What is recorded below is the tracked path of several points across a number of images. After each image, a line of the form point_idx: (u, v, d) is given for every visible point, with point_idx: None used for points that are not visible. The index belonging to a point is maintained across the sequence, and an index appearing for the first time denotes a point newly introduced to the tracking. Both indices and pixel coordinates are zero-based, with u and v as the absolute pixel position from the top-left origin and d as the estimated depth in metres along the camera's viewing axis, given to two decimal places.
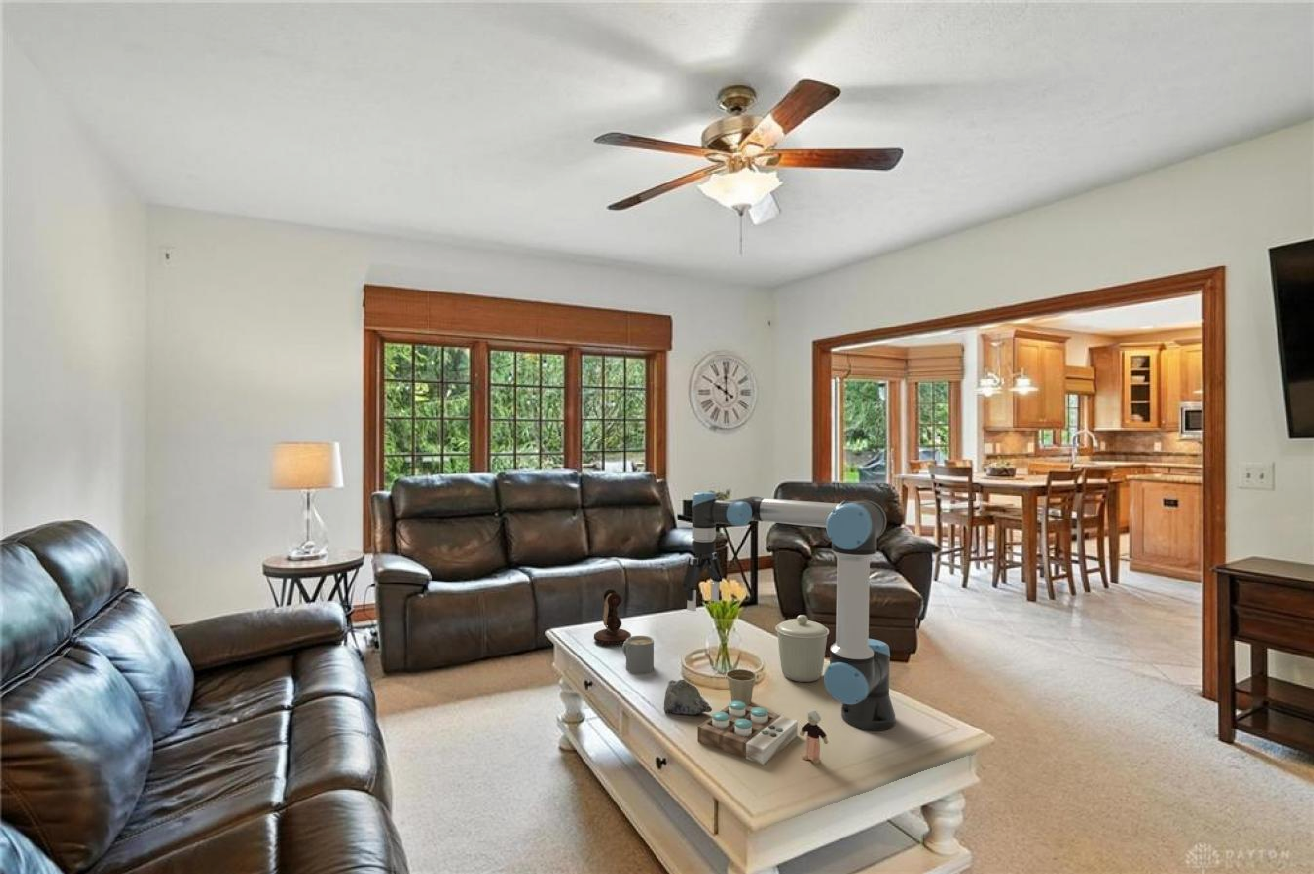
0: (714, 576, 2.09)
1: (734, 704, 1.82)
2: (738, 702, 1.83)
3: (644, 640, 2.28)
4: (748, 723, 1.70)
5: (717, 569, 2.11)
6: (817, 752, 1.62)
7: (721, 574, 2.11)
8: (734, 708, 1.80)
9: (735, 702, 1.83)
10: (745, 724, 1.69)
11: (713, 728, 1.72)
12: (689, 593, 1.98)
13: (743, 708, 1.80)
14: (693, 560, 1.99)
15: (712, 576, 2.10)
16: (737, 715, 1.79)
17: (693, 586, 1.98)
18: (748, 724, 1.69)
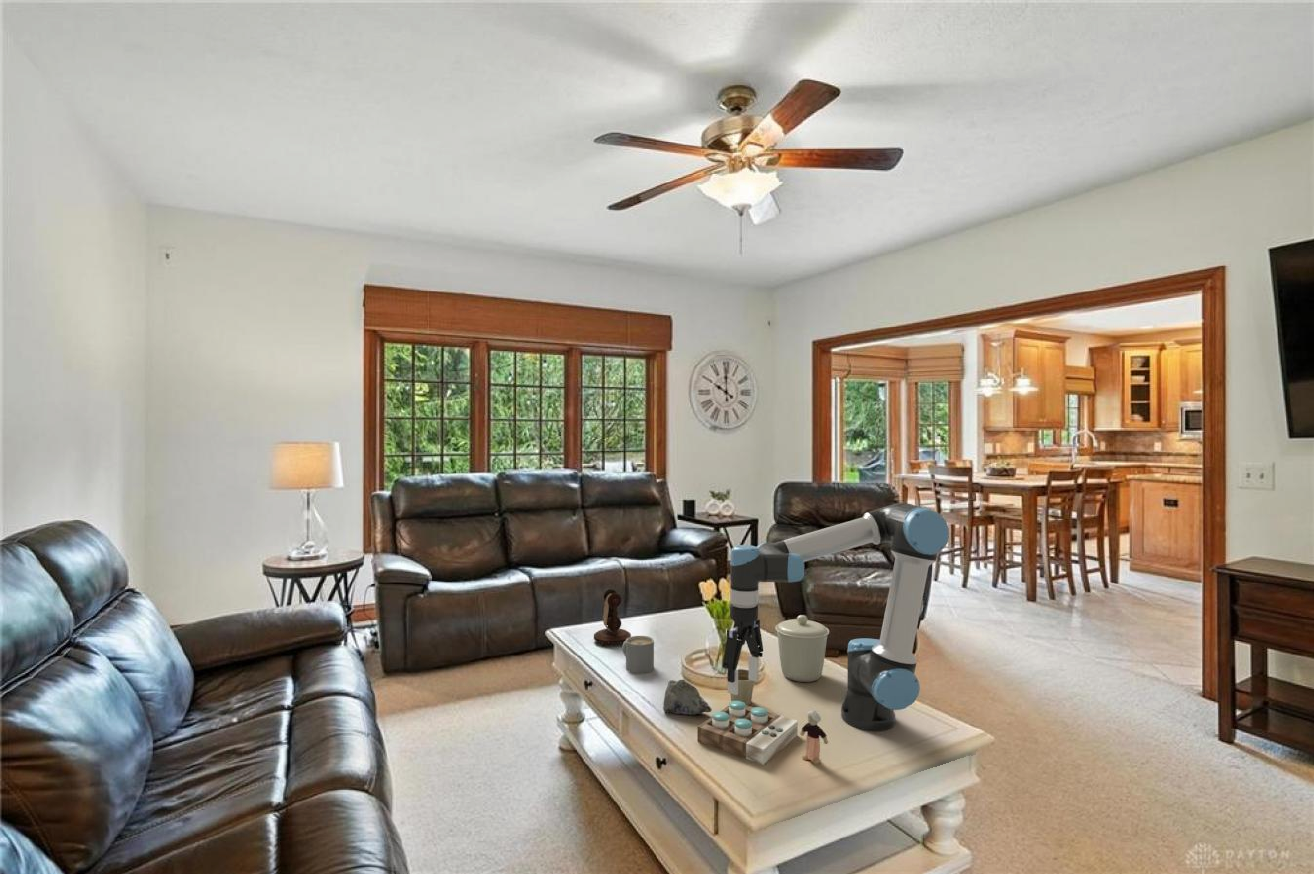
0: (753, 649, 1.74)
1: (734, 704, 1.82)
2: (738, 702, 1.83)
3: (644, 640, 2.28)
4: (748, 723, 1.70)
5: (757, 640, 1.75)
6: (817, 752, 1.62)
7: (761, 646, 1.76)
8: (734, 708, 1.80)
9: (735, 702, 1.83)
10: (745, 724, 1.69)
11: (713, 728, 1.72)
12: (730, 673, 1.64)
13: (743, 708, 1.80)
14: (732, 633, 1.64)
15: (751, 649, 1.74)
16: (737, 715, 1.79)
17: (735, 665, 1.64)
18: (748, 724, 1.69)
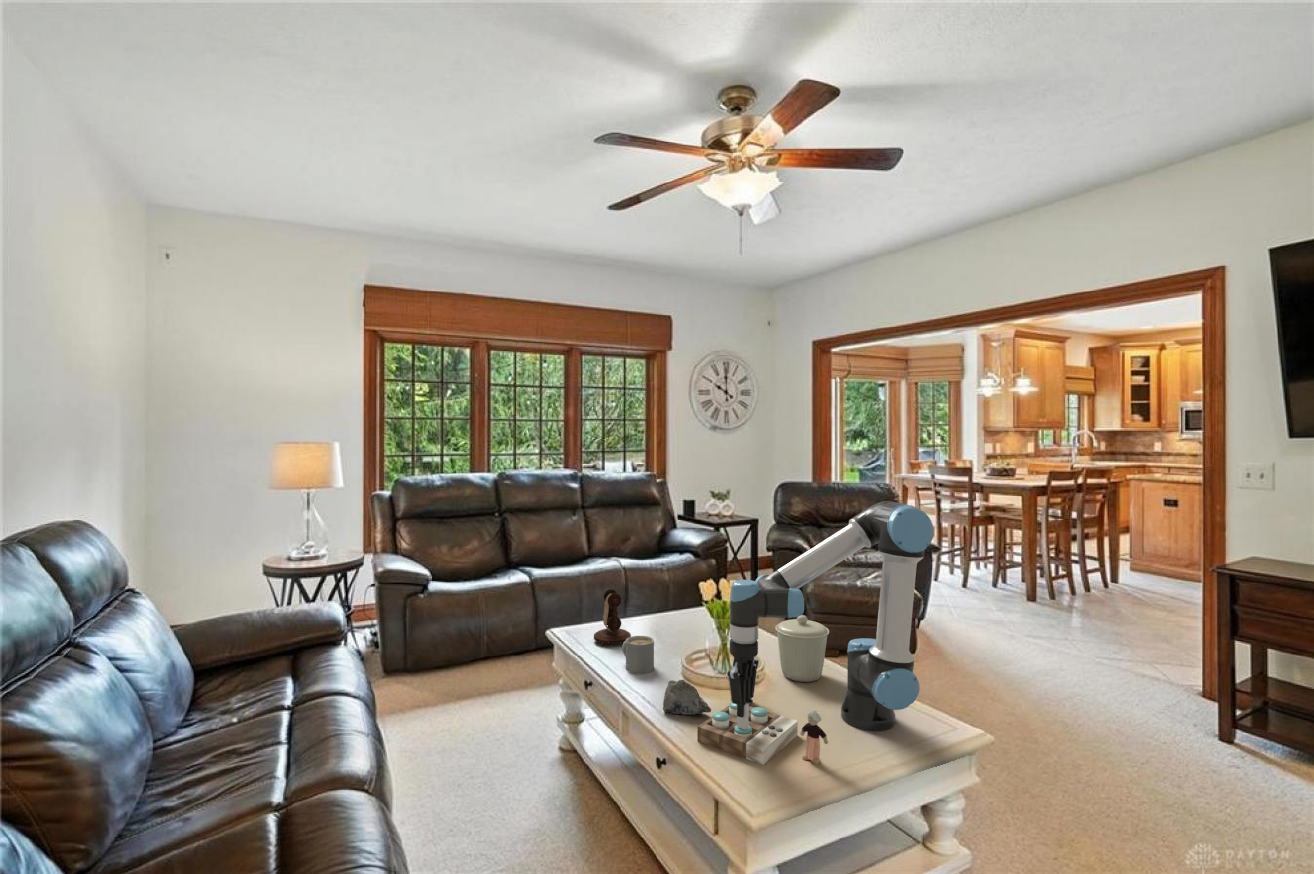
0: (745, 691, 1.70)
1: (734, 704, 1.82)
2: None
3: (644, 640, 2.28)
4: (748, 728, 1.70)
5: (750, 682, 1.72)
6: (817, 752, 1.62)
7: (752, 691, 1.72)
8: (734, 708, 1.80)
9: None
10: None
11: (713, 728, 1.72)
12: (740, 708, 1.69)
13: None
14: (733, 676, 1.65)
15: None
16: None
17: (743, 701, 1.68)
18: (748, 729, 1.69)
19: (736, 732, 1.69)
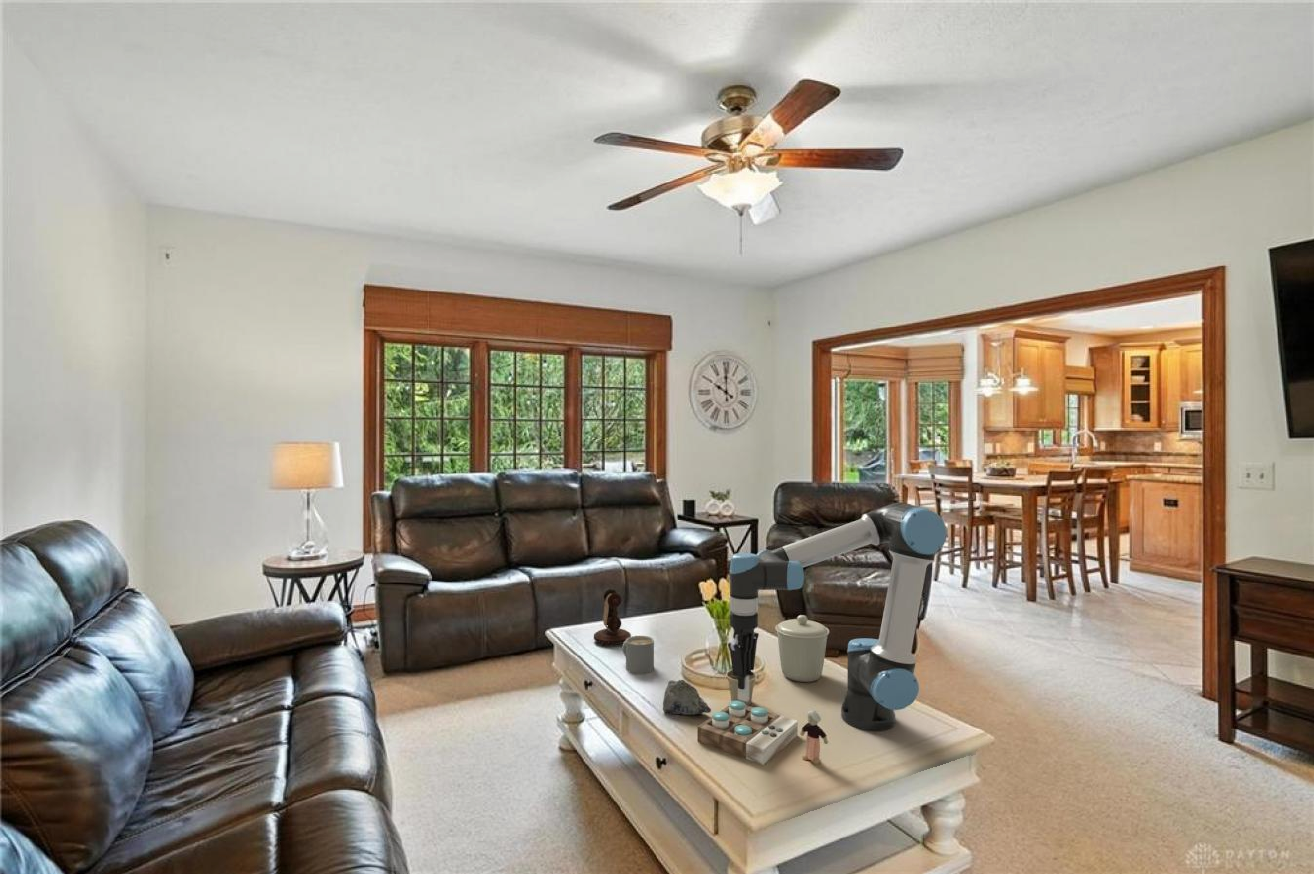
0: (746, 664, 1.71)
1: (734, 704, 1.82)
2: (738, 702, 1.83)
3: (644, 640, 2.28)
4: (748, 730, 1.70)
5: (751, 654, 1.73)
6: (817, 752, 1.62)
7: (753, 664, 1.73)
8: (734, 708, 1.80)
9: (735, 702, 1.83)
10: (745, 730, 1.69)
11: (713, 728, 1.72)
12: (740, 680, 1.69)
13: (743, 708, 1.80)
14: (734, 648, 1.65)
15: None
16: (737, 715, 1.79)
17: (744, 673, 1.69)
18: (748, 731, 1.69)
19: (736, 733, 1.69)
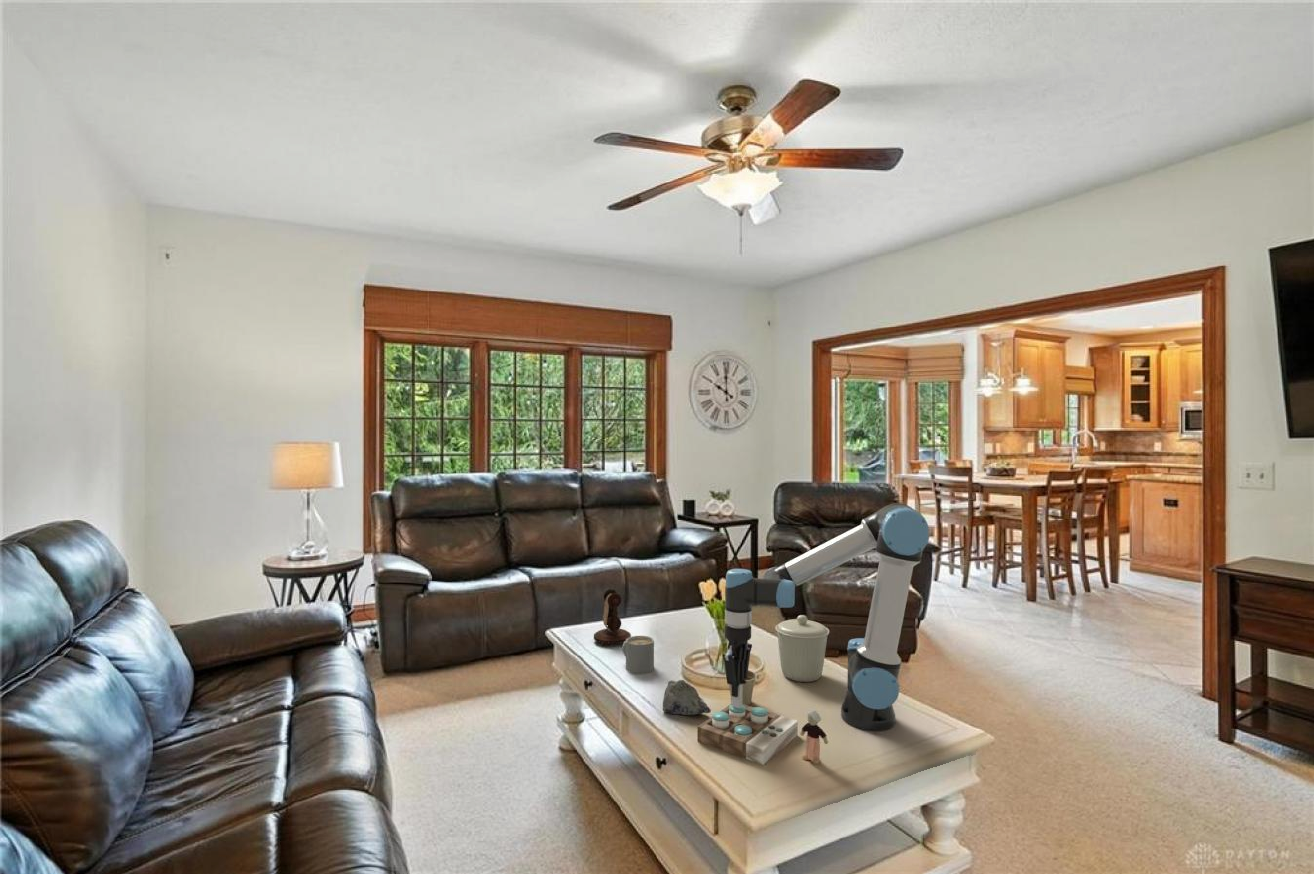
0: (739, 673, 1.82)
1: (734, 707, 1.82)
2: None
3: (644, 640, 2.28)
4: (748, 730, 1.70)
5: (744, 664, 1.84)
6: (817, 752, 1.62)
7: (746, 673, 1.84)
8: (734, 711, 1.80)
9: None
10: (745, 730, 1.69)
11: (713, 728, 1.72)
12: (734, 689, 1.80)
13: (743, 711, 1.80)
14: (728, 658, 1.76)
15: None
16: None
17: (738, 681, 1.80)
18: (748, 731, 1.69)
19: (736, 733, 1.69)
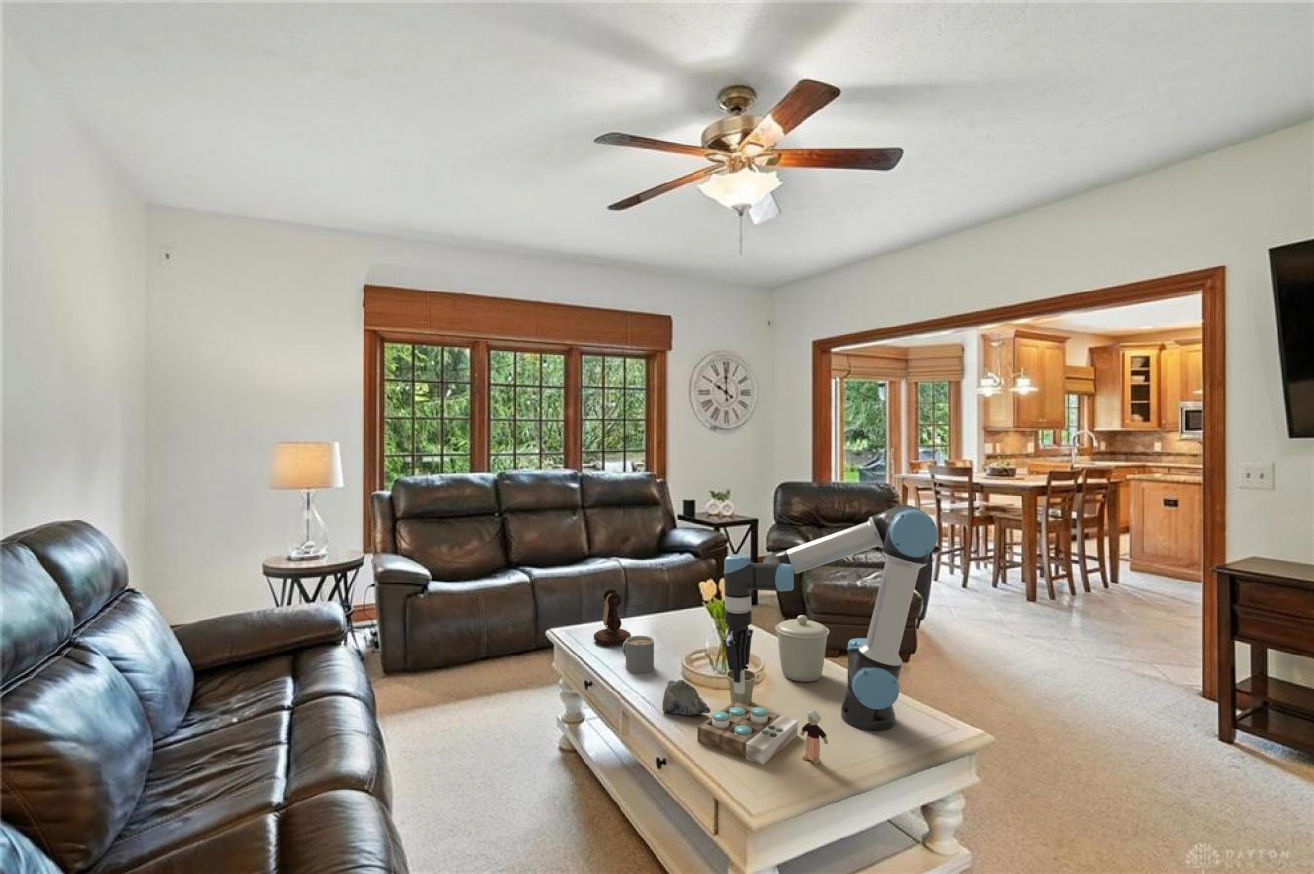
0: (741, 658, 1.82)
1: (734, 710, 1.82)
2: (738, 708, 1.83)
3: (644, 640, 2.28)
4: (748, 730, 1.70)
5: (746, 650, 1.84)
6: (817, 752, 1.62)
7: (748, 658, 1.83)
8: (734, 714, 1.80)
9: (735, 708, 1.83)
10: (745, 730, 1.69)
11: (713, 728, 1.72)
12: (736, 674, 1.80)
13: (743, 714, 1.80)
14: (729, 643, 1.76)
15: None
16: None
17: (739, 667, 1.79)
18: (748, 731, 1.69)
19: (736, 733, 1.69)
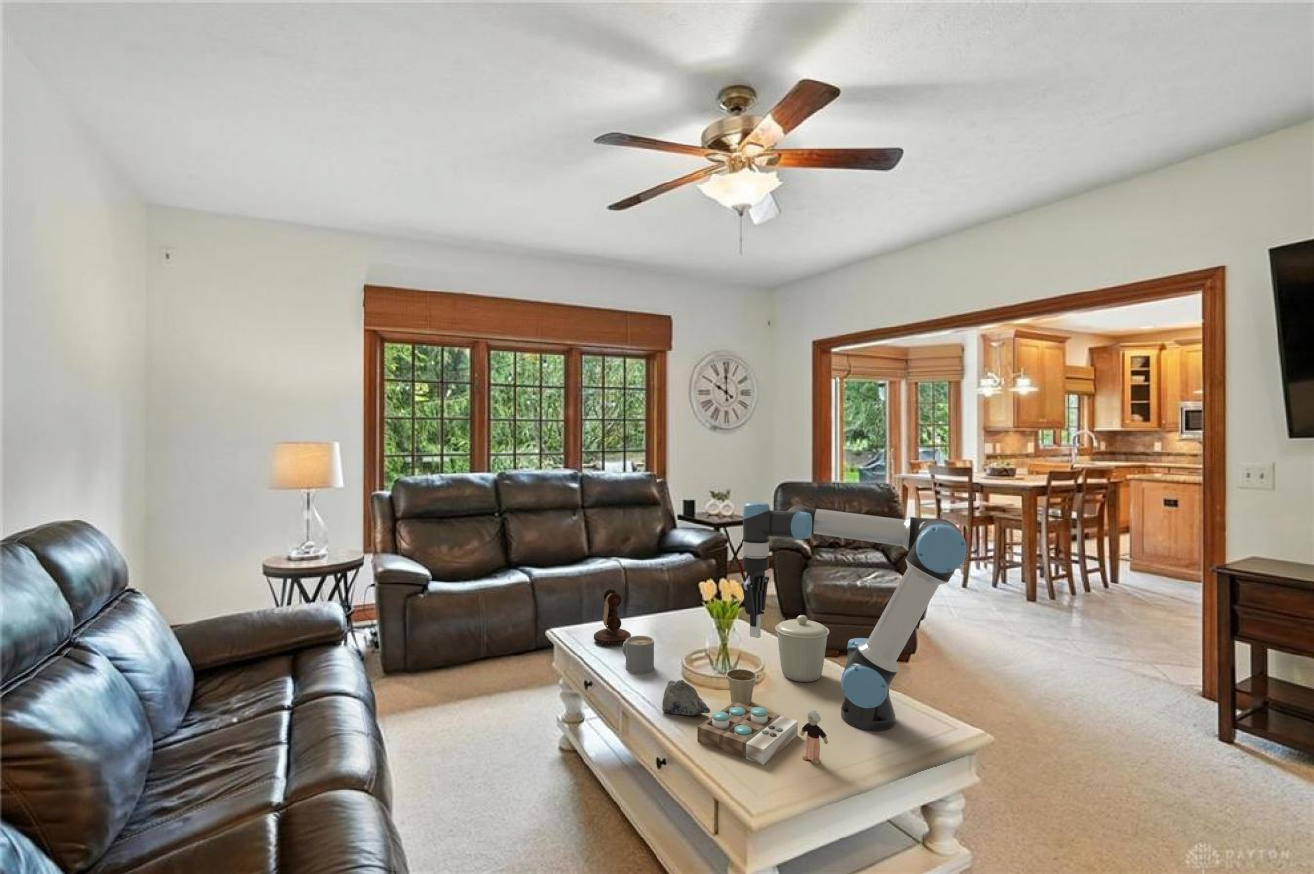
0: (757, 604, 1.86)
1: (734, 710, 1.82)
2: (738, 708, 1.83)
3: (644, 640, 2.28)
4: (748, 730, 1.70)
5: (762, 596, 1.88)
6: (817, 752, 1.62)
7: (764, 604, 1.87)
8: (734, 714, 1.80)
9: (735, 708, 1.83)
10: (745, 730, 1.69)
11: (713, 728, 1.72)
12: (752, 618, 1.84)
13: (743, 714, 1.80)
14: (747, 587, 1.80)
15: None
16: None
17: (756, 611, 1.83)
18: (748, 731, 1.69)
19: (736, 733, 1.69)
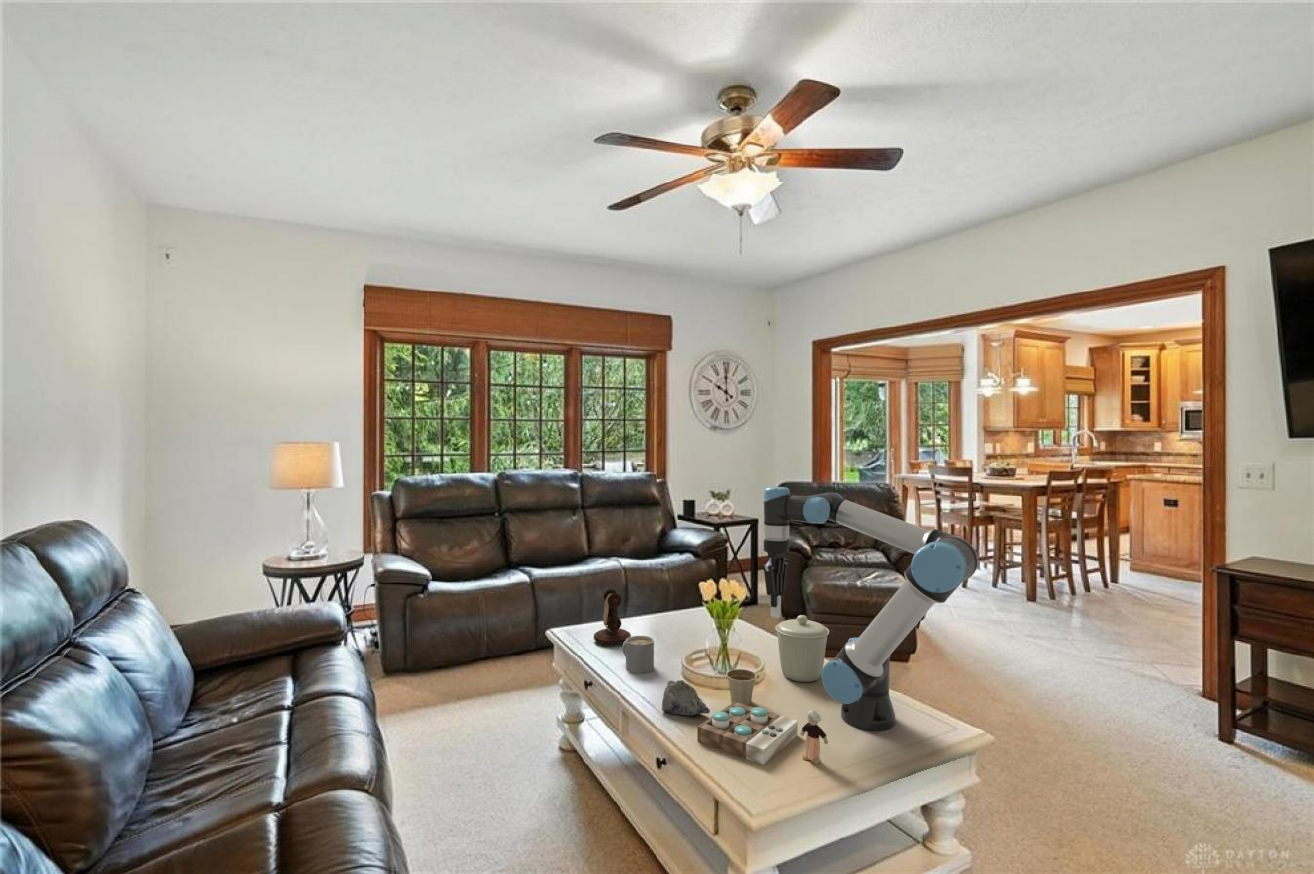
0: None
1: (734, 710, 1.82)
2: (738, 708, 1.83)
3: (644, 640, 2.28)
4: (748, 730, 1.70)
5: (782, 578, 1.94)
6: (817, 752, 1.62)
7: (784, 586, 1.93)
8: (734, 714, 1.80)
9: (735, 708, 1.83)
10: (745, 730, 1.69)
11: (713, 728, 1.72)
12: (773, 599, 1.90)
13: (743, 714, 1.80)
14: (768, 568, 1.86)
15: None
16: None
17: (777, 592, 1.89)
18: (748, 731, 1.69)
19: (736, 733, 1.69)
